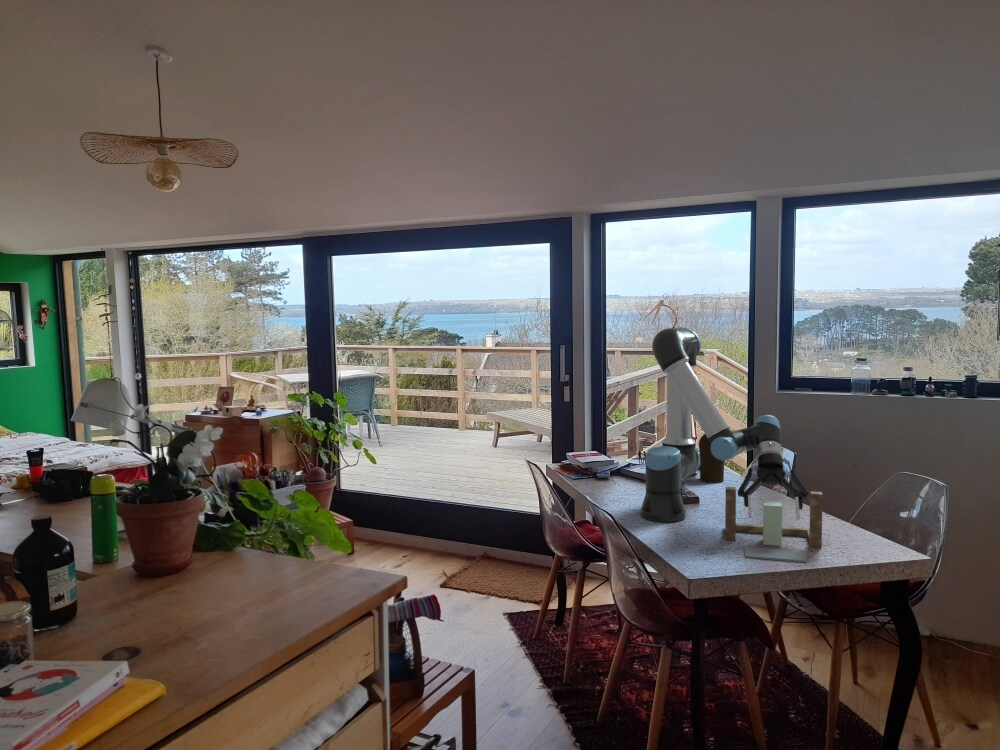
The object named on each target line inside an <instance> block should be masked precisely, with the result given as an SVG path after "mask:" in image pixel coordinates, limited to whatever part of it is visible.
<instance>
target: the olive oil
mask: <svg viewBox="0 0 1000 750" xmlns="http://www.w3.org/2000/svg"><path fill="white" fill-rule="evenodd" d="M698 453H699V456H700V464H699V479H700V481H701V480H702V481H701V482H703V481H705V482H704V483H708V482H720V483H722V482H724V481H725V480H724V477H725V460H719V459H717V458H715V457H714V456H713V454H712V453H711V443H710V441H709V439H708V438H707V436H706V434H705V433H703V435H702V436H701V437H700V438H699V442H698Z"/></svg>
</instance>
